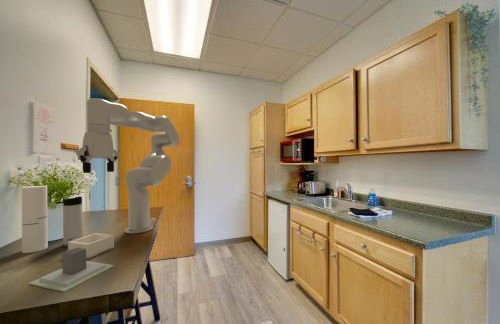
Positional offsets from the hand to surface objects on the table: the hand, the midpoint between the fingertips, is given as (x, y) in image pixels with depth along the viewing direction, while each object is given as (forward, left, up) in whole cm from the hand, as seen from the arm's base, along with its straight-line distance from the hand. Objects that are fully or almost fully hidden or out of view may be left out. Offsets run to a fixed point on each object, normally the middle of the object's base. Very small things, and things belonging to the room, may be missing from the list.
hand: (99, 172), depth 84 cm
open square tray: (+4, +1, -30) cm, 31 cm away
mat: (+18, +13, -30) cm, 38 cm away
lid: (+18, +13, -30) cm, 37 cm away
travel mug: (0, -15, -31) cm, 34 cm away
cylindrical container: (+8, -24, -31) cm, 40 cm away
